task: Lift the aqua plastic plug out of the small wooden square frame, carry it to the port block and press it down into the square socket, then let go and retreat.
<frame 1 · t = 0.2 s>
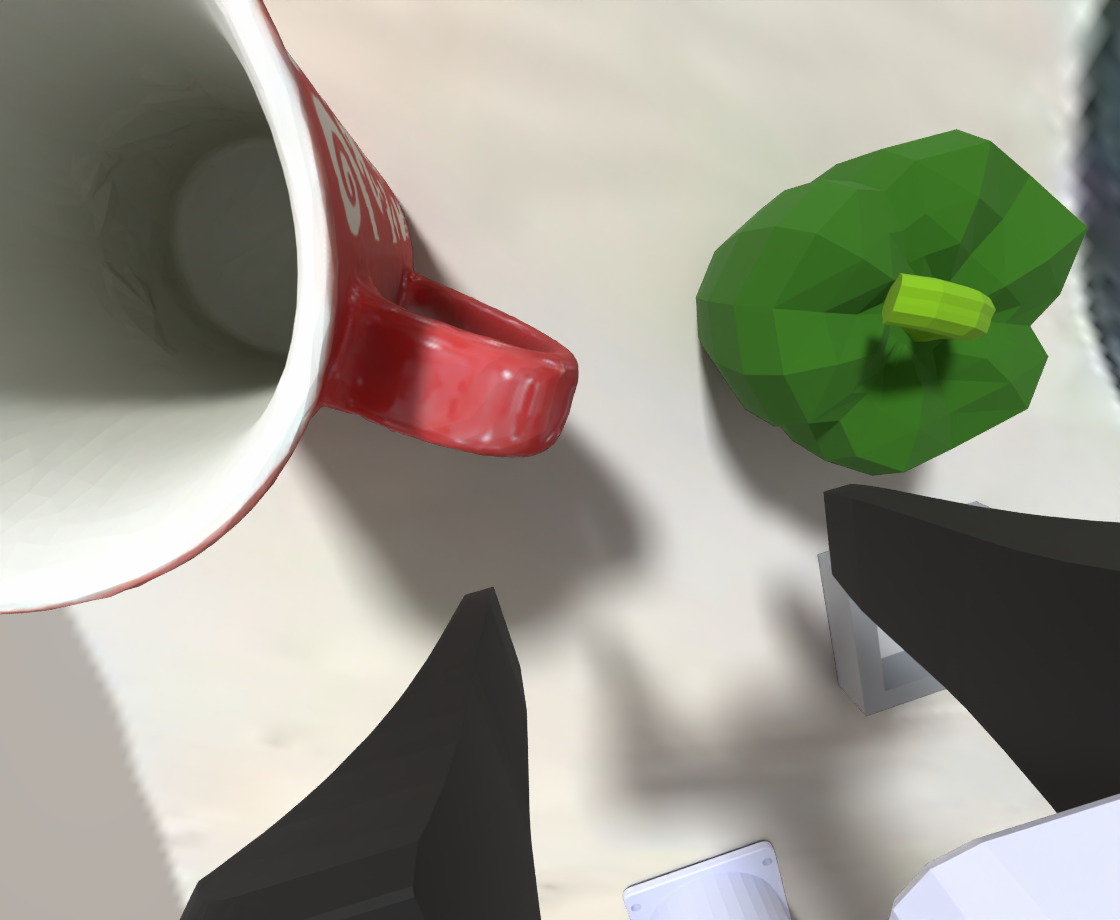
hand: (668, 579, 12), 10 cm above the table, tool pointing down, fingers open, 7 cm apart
bell pepper: (775, 298, 21), on the table
mug: (350, 277, 19), on the table
port: (904, 597, 26), on the table
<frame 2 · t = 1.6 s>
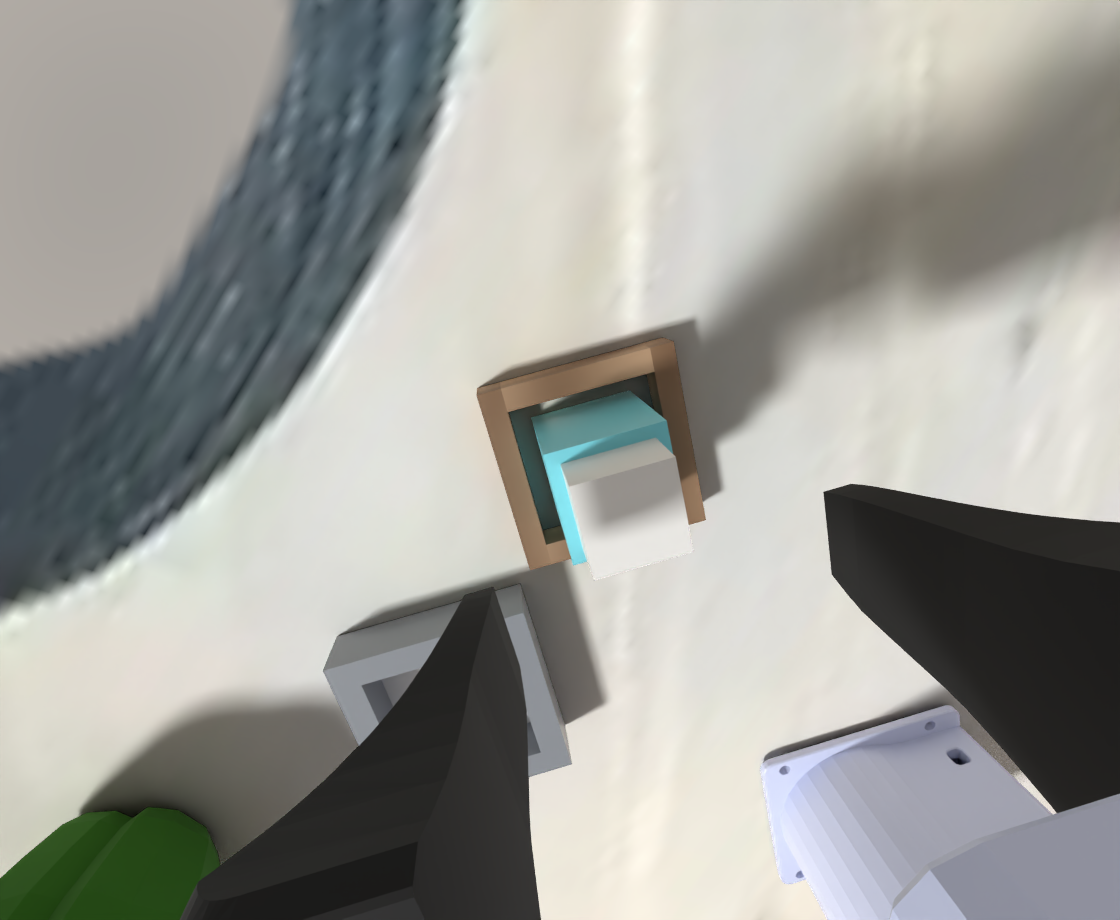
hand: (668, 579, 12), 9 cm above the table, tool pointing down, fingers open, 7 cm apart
bell pepper: (146, 844, 24), on the table
port: (457, 683, 23), on the table
plug: (609, 479, 18), in the wooden square frame
wooden square frame: (592, 451, 21), on the table
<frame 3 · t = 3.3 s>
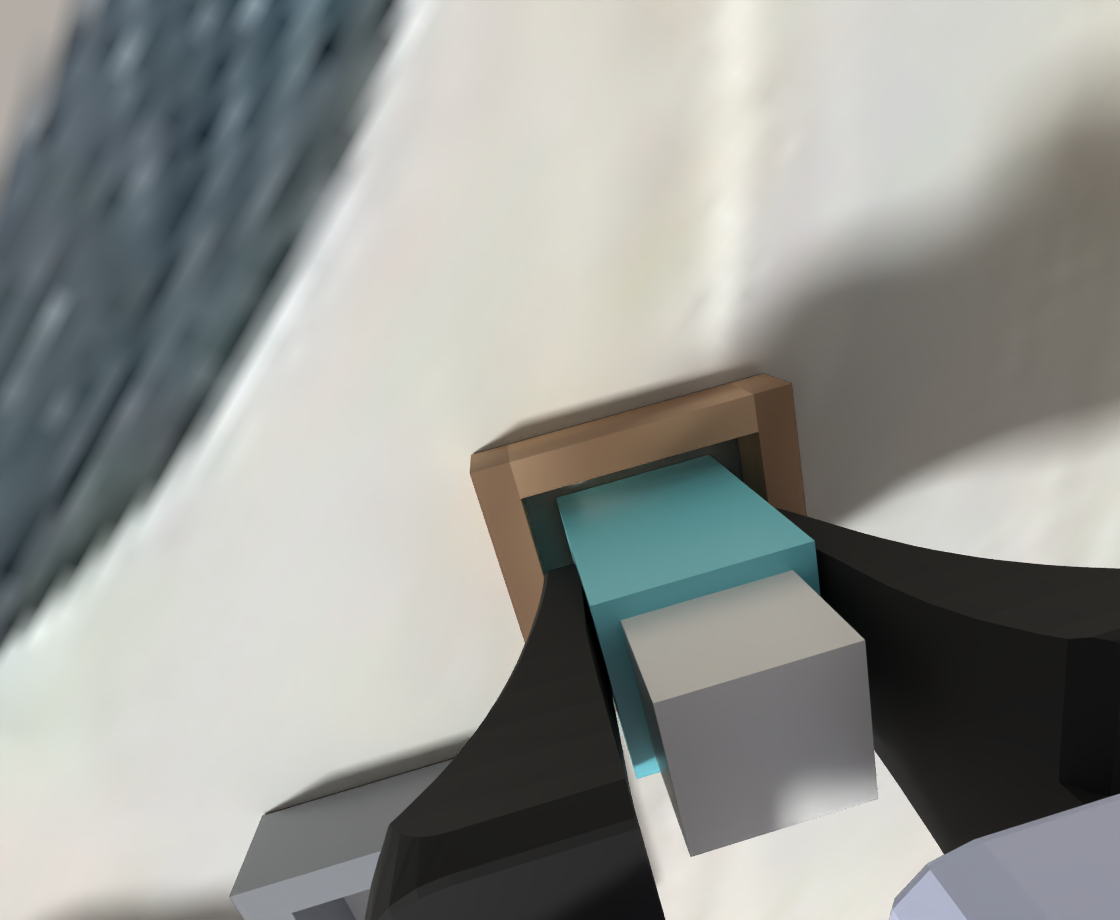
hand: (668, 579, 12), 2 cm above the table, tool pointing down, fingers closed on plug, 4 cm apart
port: (444, 869, 16), on the table
plug: (693, 620, 11), in the wooden square frame, touching gripper
wooden square frame: (648, 545, 13), on the table
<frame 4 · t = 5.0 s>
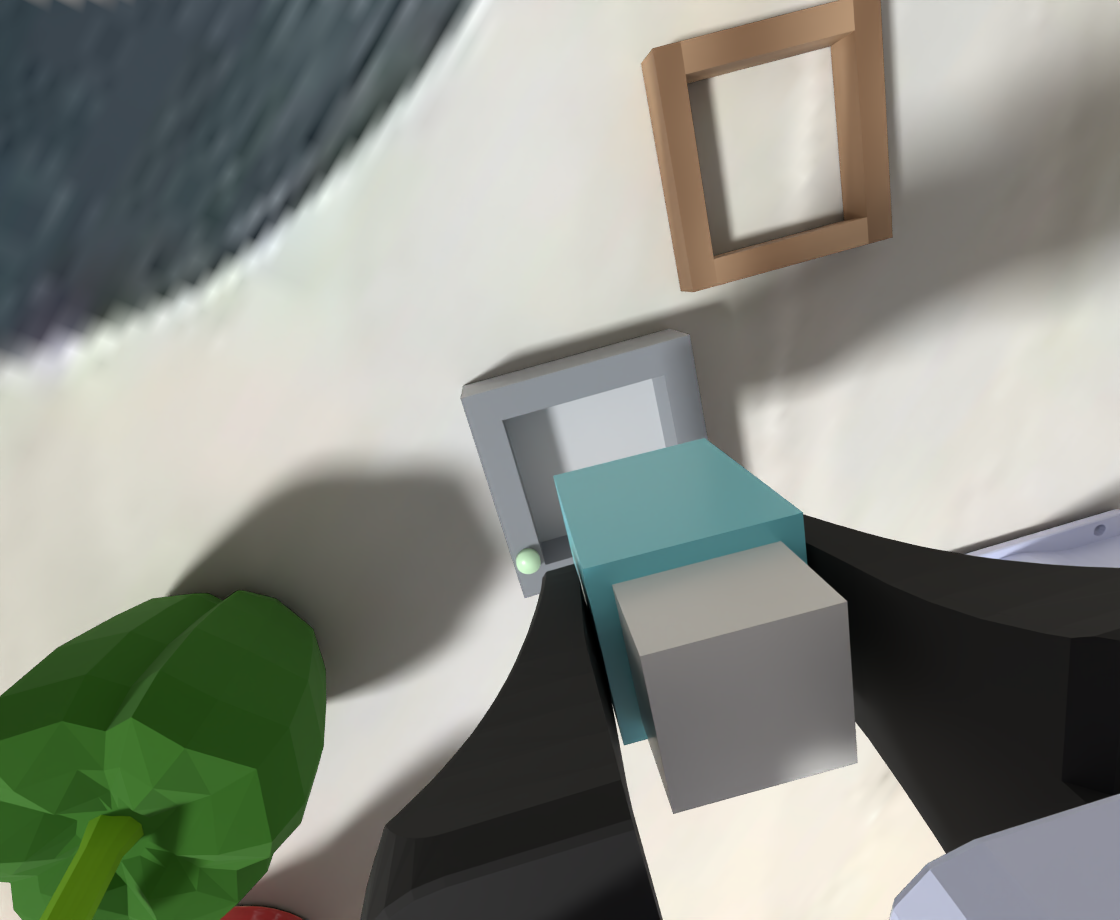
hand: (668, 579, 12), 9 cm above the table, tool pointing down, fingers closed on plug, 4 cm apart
bell pepper: (236, 646, 21), on the table
port: (591, 455, 20), on the table
plug: (683, 594, 11), point 10 cm above the table, touching gripper
wooden square frame: (762, 157, 18), on the table
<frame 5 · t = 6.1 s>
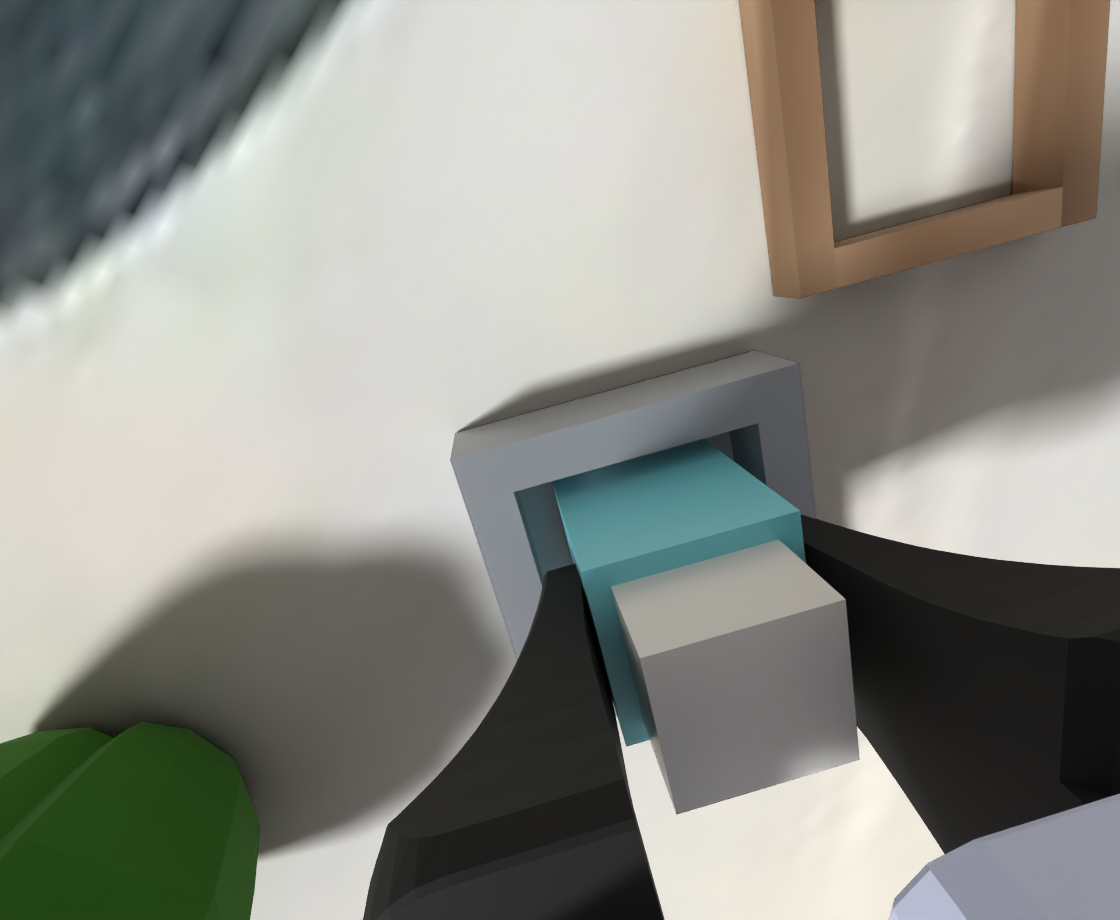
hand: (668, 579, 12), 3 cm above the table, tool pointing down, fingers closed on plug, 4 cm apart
bell pepper: (139, 787, 15), on the table
port: (637, 527, 14), on the table
plug: (683, 594, 11), in the port, point 4 cm above the table, touching gripper
wooden square frame: (903, 97, 12), on the table
when the fingers open (3 cm above the table, at t = 6.7 s): plug stays where it is, resting on port.
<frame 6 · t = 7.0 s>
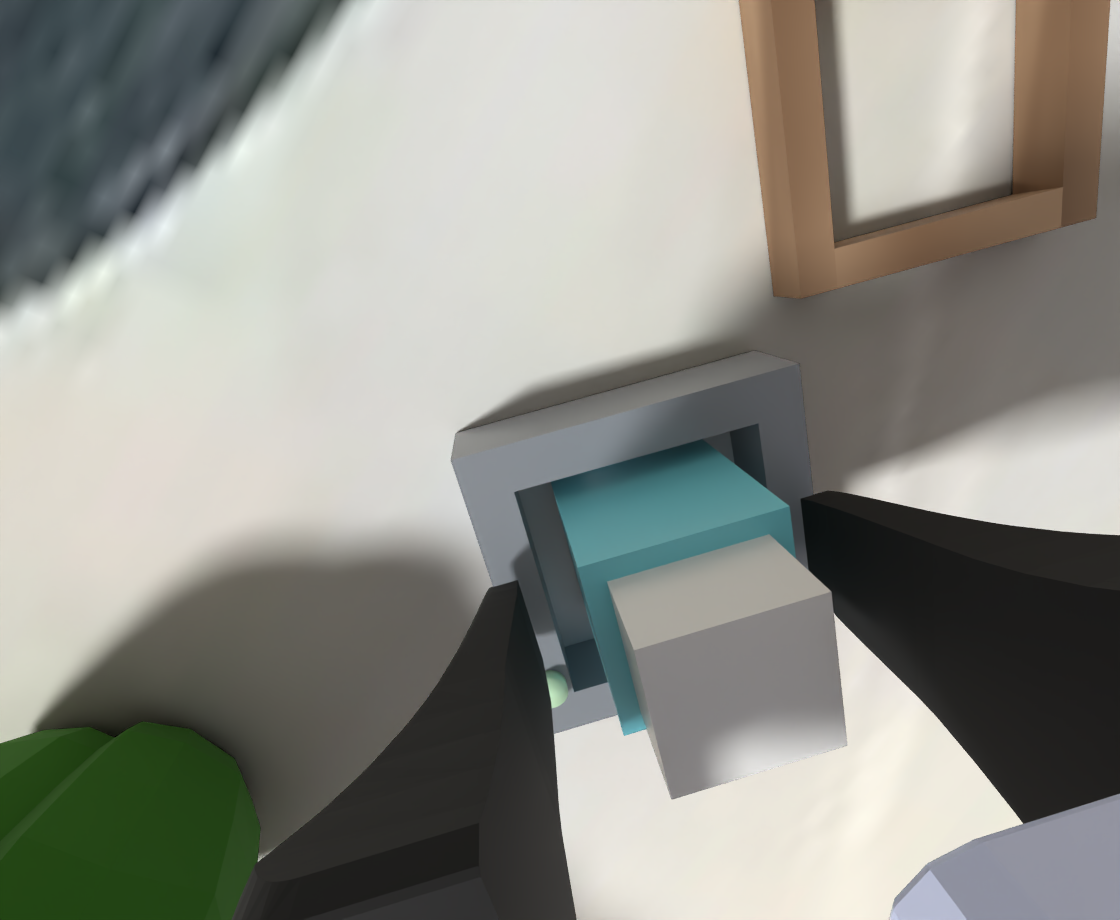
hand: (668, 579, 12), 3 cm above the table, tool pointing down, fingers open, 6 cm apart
bell pepper: (140, 787, 15), on the table
port: (637, 527, 14), on the table
plug: (678, 587, 11), in the port
wooden square frame: (903, 97, 12), on the table
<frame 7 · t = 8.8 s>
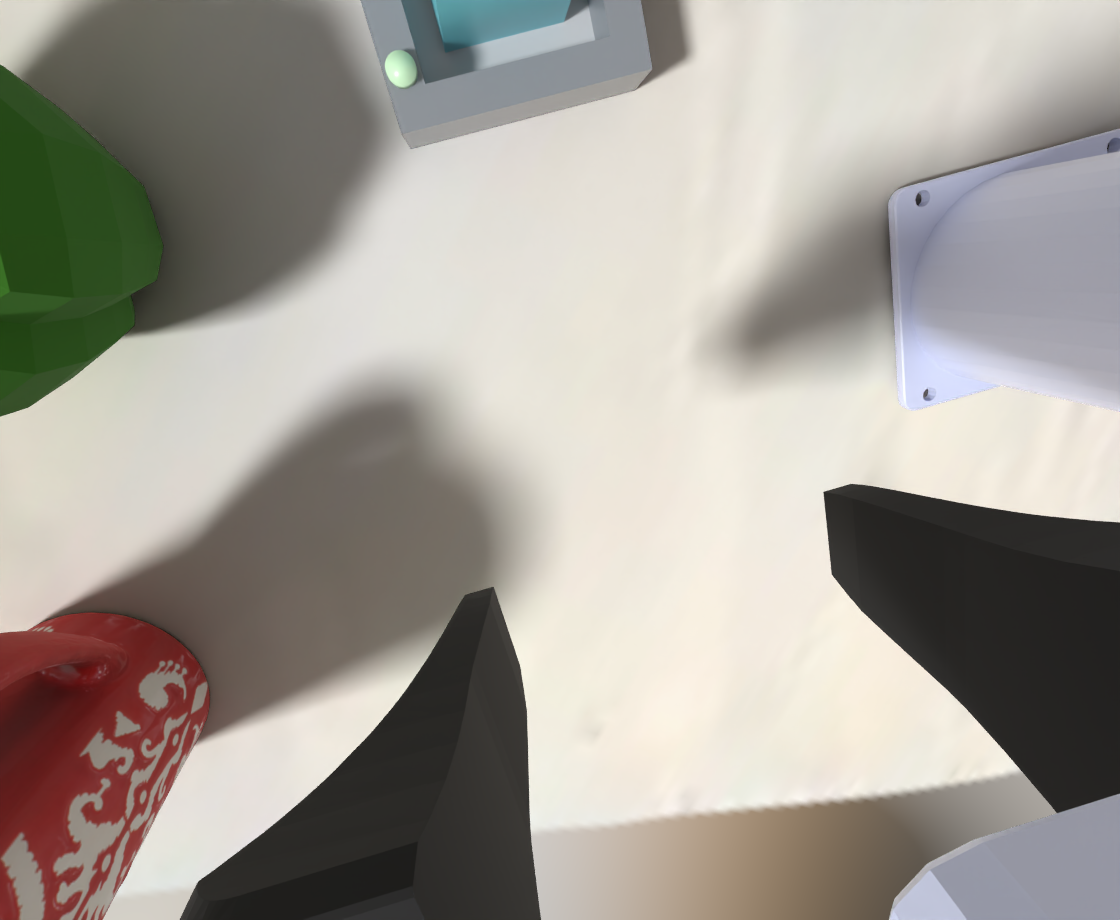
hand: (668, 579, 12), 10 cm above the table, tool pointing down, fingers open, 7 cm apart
bell pepper: (62, 238, 17), on the table
mug: (128, 653, 22), on the table
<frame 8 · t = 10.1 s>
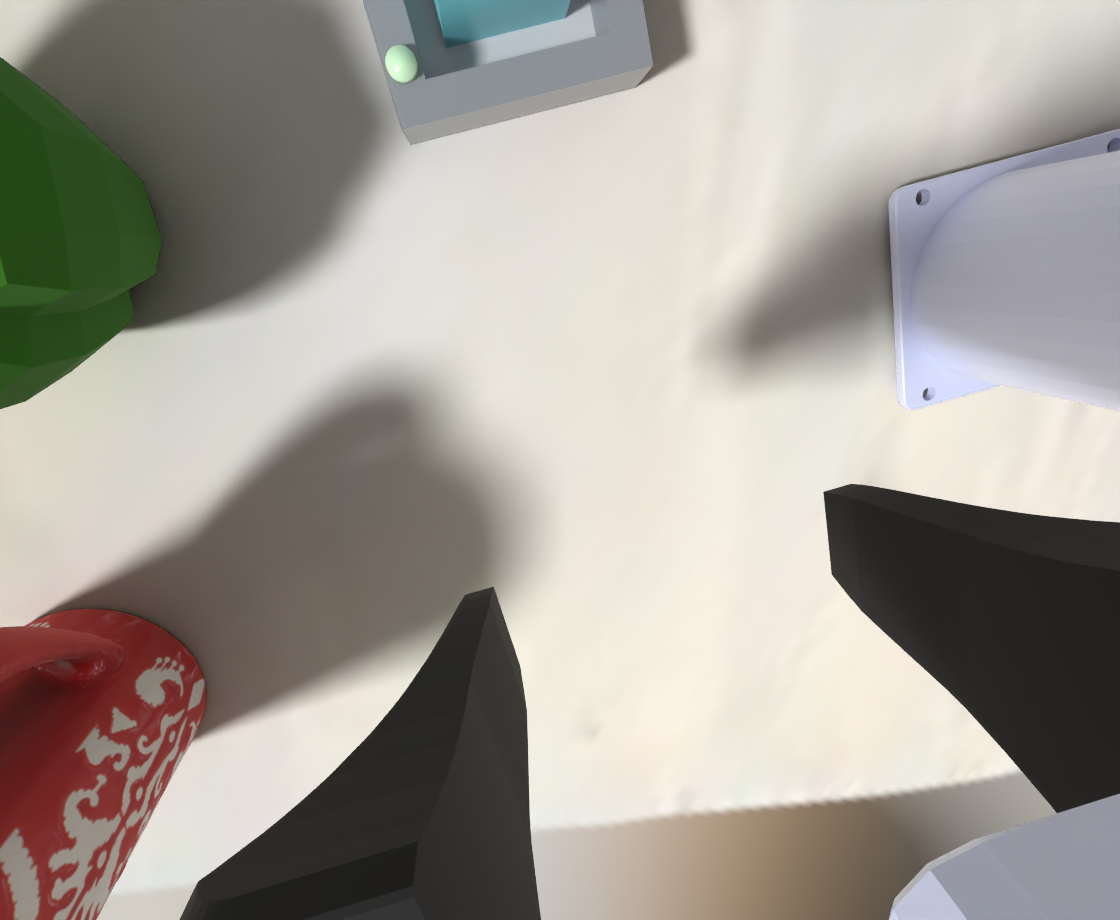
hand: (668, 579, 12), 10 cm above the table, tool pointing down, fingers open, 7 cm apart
bell pepper: (60, 232, 17), on the table
mug: (125, 649, 22), on the table
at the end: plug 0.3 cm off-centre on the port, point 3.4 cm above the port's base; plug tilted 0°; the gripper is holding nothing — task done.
